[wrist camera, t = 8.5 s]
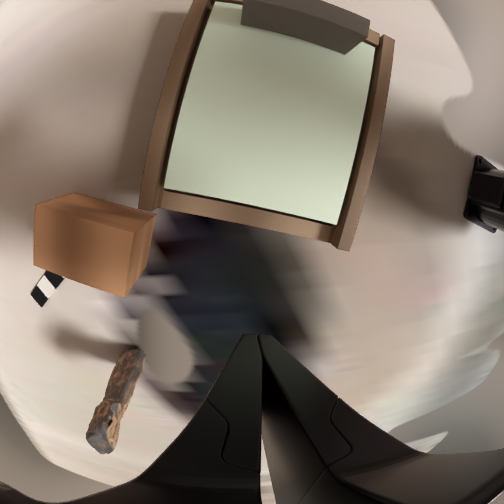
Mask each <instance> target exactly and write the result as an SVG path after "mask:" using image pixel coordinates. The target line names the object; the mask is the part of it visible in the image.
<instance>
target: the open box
mask: <svg viewBox="0 0 504 504" xmlns="http://www.w3.org/2000/svg"><path fill="white" fill-rule="evenodd" d="M215 1H217V2H225V3H232V4H238V5H243V0H193V3H192V5H191V7H190V10H189V12H188V15H187V17H186V20H185V22H184V25H183V28H182V30H181V33H180V36H179V38H178V41H177V44H176V47H175V50H174V53H173V56H172V59H171V62H170V65H169V68H168V72H167V75H166V78H165V82H164V85H163V89H162V92H161V96H160V100H159V103H158V107H157V111H156V115H155V119H154V124H153V128H152V132H151V137H150V142H149V146H148V151H147V156H146V162H145V167H144V173H143V178H142V185H141V191H140V198H139V205H138V209H142V210H147V211H153V210H154V209H156V208H163V209H168V210H174V211H179V212H184V213H189V214H195V215H200V216H205V217H210V218H215V219H220V220H225V221H230V222H235V223H240V224H245V225H250V226H255V227H260V228H264V229H269V230H274V231H279V232H283V233H288V234H292V235H297V236H302V237H306V238H311V239H315V240H320V241H324V242H329V243H331V244H332V245H333V246H334V247H336V248H337V249H339V250H344V251H348V252H349V251H350V248H351V245H352V242H353V238H354V235H355V232H356V229H357V225H358V222H359V219H360V215H361V212H362V208H363V204H364V201H365V197H366V193H367V190H368V186H369V182H370V178H371V174H372V170H373V166H374V162H375V157H376V153H377V148H378V144H379V139H380V134H381V129H382V124H383V119H384V114H385V108H386V102H387V96H388V90H389V84H390V77H391V69H392V61H393V53H394V43H395V40H394V39H392V38H390V37H388V36H386V35H382V36H381V37H380V34H379V33H377V32H375V31H373V30H371V29H369V33H368V38H366V39H365V40H364V41H362V42H364V43H366V44H368V45H370V46H373V47H375V52H374V59H373V66H372V72H371V78H370V84H369V90H368V95H367V101H366V106H365V111H364V116H363V121H362V126H361V130H360V135H359V140H358V144H357V148H356V153H355V157H354V161H353V165H352V169H351V173H350V177H349V181H348V185H347V189H346V193H345V197H344V200H343V204H342V208H341V211H340V215H339V218H338V222H337V225H335V224H331V223H327V222H323V221H319V220H315V219H310V218H306V217H302V216H298V215H294V214H289V213H285V212H281V211H276V210H272V209H267V208H263V207H258V206H254V205H249V204H244V203H239V202H235V201H230V200H225V199H220V198H215V197H210V196H205V195H199V194H194V193H189V192H183V191H178V190H172V189H167V188H164V184H165V178H166V173H167V168H168V162H169V157H170V153H171V148H172V143H173V139H174V134H175V130H176V126H177V122H178V118H179V113H180V110H181V106H182V102H183V98H184V94H185V91H186V87H187V84H188V80H189V77H190V73H191V70H192V67H193V63H194V60H195V57H196V54H197V51H198V48H199V45H200V42H201V39H202V36H203V33H204V30H205V28H206V25H207V22H208V19H209V17H210V14H211V11H212V9H213V6H214V4H215Z"/></svg>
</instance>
